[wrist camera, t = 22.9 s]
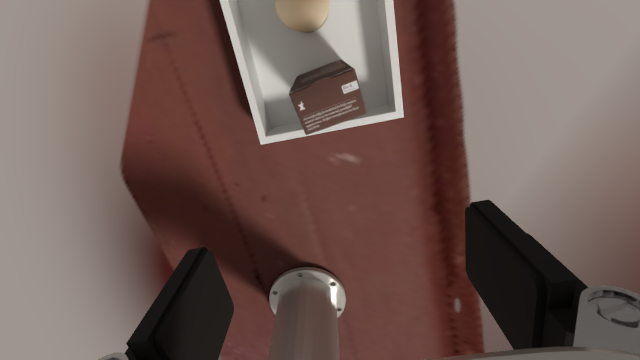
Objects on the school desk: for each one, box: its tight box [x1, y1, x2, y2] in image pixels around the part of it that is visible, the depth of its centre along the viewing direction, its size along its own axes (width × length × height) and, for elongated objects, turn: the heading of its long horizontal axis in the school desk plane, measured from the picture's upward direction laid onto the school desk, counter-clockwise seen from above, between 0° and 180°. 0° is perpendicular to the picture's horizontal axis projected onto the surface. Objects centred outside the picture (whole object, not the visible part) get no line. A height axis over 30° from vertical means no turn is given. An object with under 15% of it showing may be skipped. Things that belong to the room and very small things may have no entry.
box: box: [289, 59, 367, 135], centre depth 32 cm, size 6×4×12 cm
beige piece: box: [274, 0, 330, 33], centre depth 31 cm, size 5×5×7 cm
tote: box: [220, 0, 404, 145], centre depth 34 cm, size 18×17×5 cm
